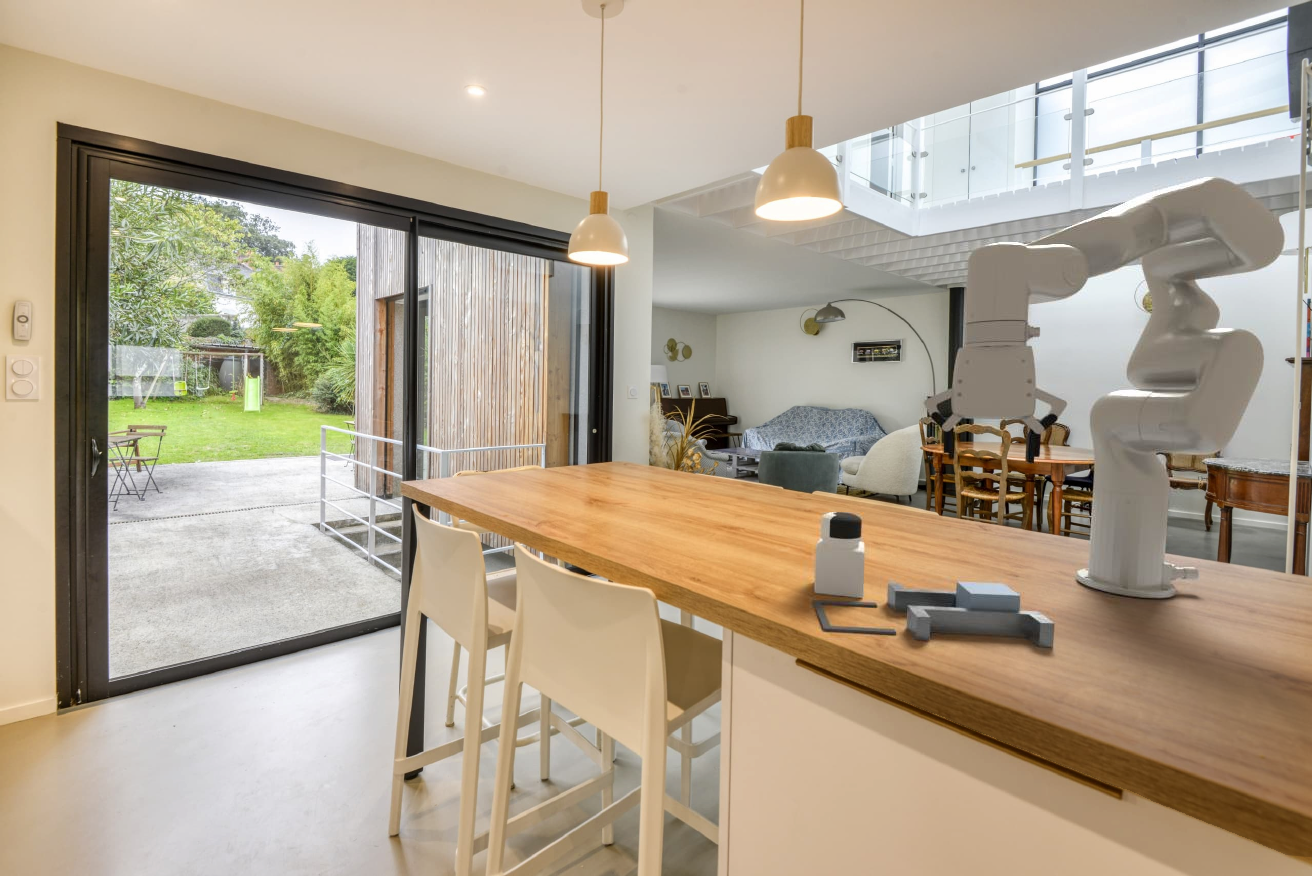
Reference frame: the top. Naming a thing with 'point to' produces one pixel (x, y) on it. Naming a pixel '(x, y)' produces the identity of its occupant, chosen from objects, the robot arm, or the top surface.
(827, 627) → the bay
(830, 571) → the medicine bottle
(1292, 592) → the top surface
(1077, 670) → the top surface
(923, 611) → the grey stepped fixture
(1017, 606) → the block
